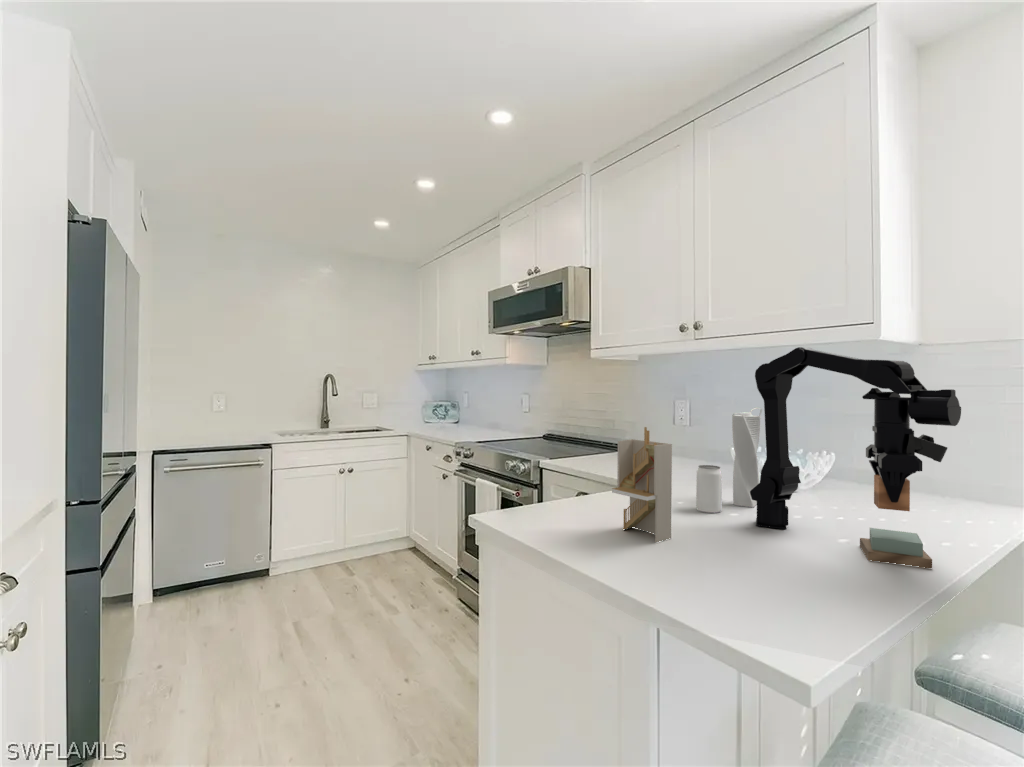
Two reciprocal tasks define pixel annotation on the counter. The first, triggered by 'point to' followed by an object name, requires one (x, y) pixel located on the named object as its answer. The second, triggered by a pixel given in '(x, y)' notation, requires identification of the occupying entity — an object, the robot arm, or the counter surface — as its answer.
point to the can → (709, 489)
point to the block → (883, 499)
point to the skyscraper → (745, 456)
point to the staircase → (646, 484)
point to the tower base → (894, 556)
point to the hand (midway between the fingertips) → (891, 499)
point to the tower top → (896, 542)
